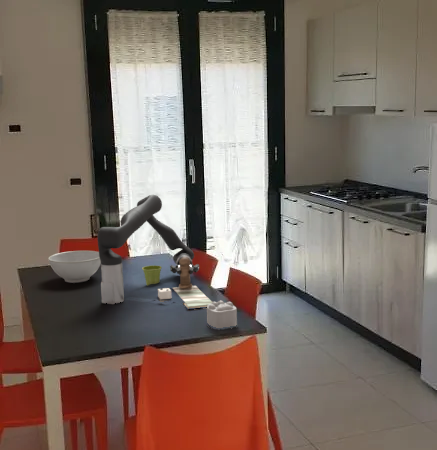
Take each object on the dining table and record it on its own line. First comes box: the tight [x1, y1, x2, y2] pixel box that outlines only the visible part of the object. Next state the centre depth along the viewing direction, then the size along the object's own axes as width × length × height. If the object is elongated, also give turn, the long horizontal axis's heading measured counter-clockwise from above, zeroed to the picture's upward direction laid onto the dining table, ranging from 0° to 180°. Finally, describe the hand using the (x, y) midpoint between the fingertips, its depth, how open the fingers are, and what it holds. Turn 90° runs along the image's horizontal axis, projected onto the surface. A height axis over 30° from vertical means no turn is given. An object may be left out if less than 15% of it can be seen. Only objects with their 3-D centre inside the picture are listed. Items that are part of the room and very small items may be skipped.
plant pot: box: [141, 265, 162, 286], centre depth 312 cm, size 9×9×9 cm
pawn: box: [178, 257, 193, 289], centre depth 297 cm, size 6×6×14 cm
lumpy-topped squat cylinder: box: [206, 300, 238, 328], centre depth 251 cm, size 10×13×9 cm
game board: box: [172, 285, 213, 309], centre depth 288 cm, size 32×12×2 cm, turn 16°
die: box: [157, 287, 172, 303], centre depth 286 cm, size 5×5×5 cm
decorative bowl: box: [47, 250, 101, 284], centre depth 326 cm, size 27×27×12 cm
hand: (185, 272), depth 295 cm, fingers closed on pawn, 4 cm apart
